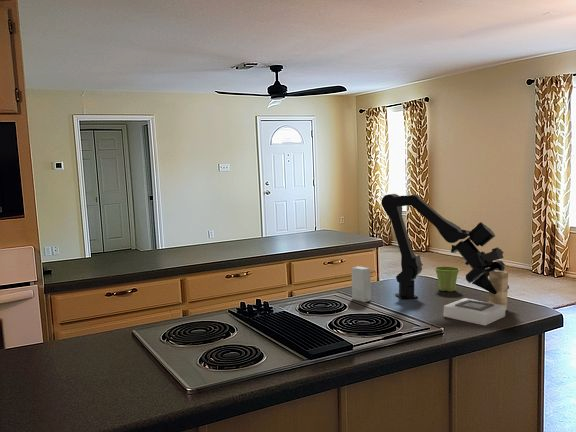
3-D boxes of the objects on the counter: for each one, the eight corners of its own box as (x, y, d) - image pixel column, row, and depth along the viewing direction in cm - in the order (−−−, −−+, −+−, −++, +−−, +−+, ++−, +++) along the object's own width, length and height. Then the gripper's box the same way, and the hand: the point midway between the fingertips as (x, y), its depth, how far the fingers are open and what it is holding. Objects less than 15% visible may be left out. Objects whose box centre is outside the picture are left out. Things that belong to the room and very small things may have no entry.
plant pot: (429, 288, 205) (429, 267, 204) (447, 286, 209) (448, 265, 208) (445, 293, 197) (446, 271, 196) (464, 291, 200) (464, 269, 200)
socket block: (443, 316, 167) (443, 304, 166) (464, 308, 176) (464, 296, 176) (485, 325, 157) (485, 313, 156) (505, 316, 166) (505, 304, 166)
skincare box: (371, 300, 188) (371, 267, 187) (363, 302, 185) (363, 269, 184) (359, 297, 193) (359, 265, 191) (350, 299, 190) (350, 267, 189)
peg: (488, 309, 174) (489, 272, 173) (494, 307, 177) (495, 270, 176) (501, 312, 171) (502, 273, 170) (506, 309, 174) (508, 271, 173)
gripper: (475, 243, 168) (507, 281, 161) (500, 237, 181) (531, 272, 174) (452, 264, 175) (482, 301, 168) (478, 257, 187) (507, 291, 181)
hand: (502, 291), depth 172 cm, fingers open, 9 cm apart
